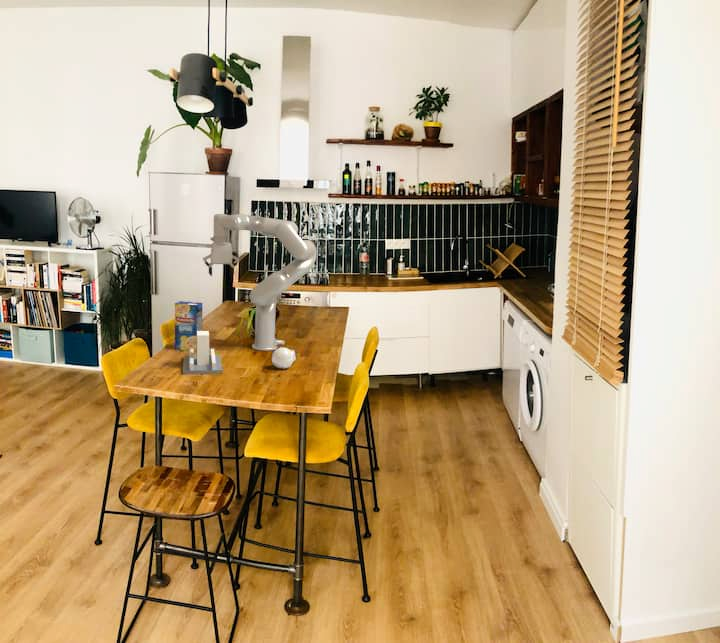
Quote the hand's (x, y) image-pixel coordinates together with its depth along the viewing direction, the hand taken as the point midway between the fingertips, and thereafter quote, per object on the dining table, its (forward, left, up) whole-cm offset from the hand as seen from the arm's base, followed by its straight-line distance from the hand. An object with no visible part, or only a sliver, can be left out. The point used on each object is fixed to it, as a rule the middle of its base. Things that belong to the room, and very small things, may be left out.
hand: (221, 275), depth 343 cm
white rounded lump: (-26, +45, -34) cm, 62 cm away
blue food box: (+15, +9, -34) cm, 38 cm away
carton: (+9, +41, -32) cm, 53 cm away
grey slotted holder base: (+9, +41, -34) cm, 54 cm away
